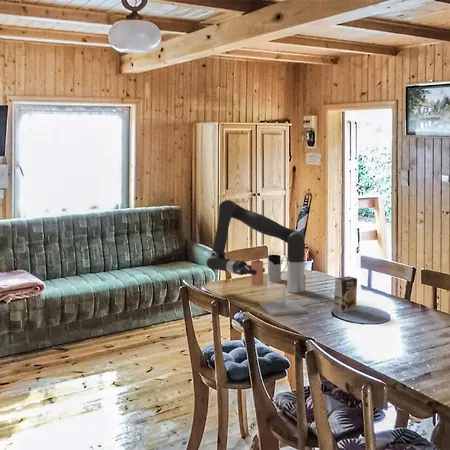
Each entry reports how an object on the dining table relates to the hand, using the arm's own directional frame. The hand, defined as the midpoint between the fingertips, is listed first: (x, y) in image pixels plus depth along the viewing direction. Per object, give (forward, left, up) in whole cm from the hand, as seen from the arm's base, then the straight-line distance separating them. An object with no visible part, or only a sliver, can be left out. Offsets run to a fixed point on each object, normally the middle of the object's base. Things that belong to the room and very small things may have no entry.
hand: (260, 271), depth 283 cm
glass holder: (-26, -43, -16) cm, 53 cm away
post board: (-7, +15, -16) cm, 23 cm away
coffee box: (-36, +25, -16) cm, 47 cm away
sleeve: (+1, -2, -7) cm, 7 cm away
